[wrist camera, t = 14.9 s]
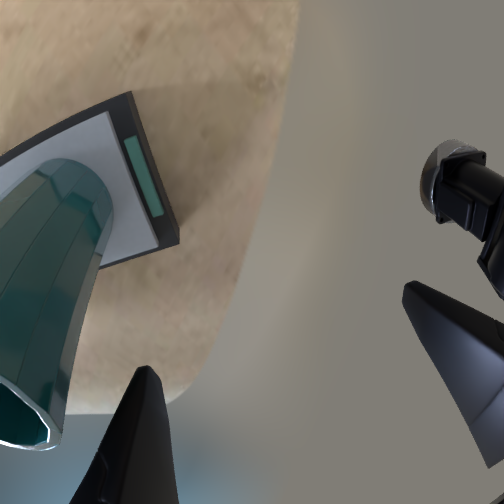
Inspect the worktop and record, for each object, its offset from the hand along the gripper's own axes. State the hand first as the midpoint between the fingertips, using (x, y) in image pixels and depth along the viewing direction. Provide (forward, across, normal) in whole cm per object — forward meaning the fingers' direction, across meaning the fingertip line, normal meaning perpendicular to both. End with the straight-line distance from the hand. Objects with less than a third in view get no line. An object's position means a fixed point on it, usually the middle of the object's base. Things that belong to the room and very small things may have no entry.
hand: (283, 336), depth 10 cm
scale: (+13, +10, -3) cm, 17 cm away
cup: (+10, +10, -3) cm, 15 cm away
